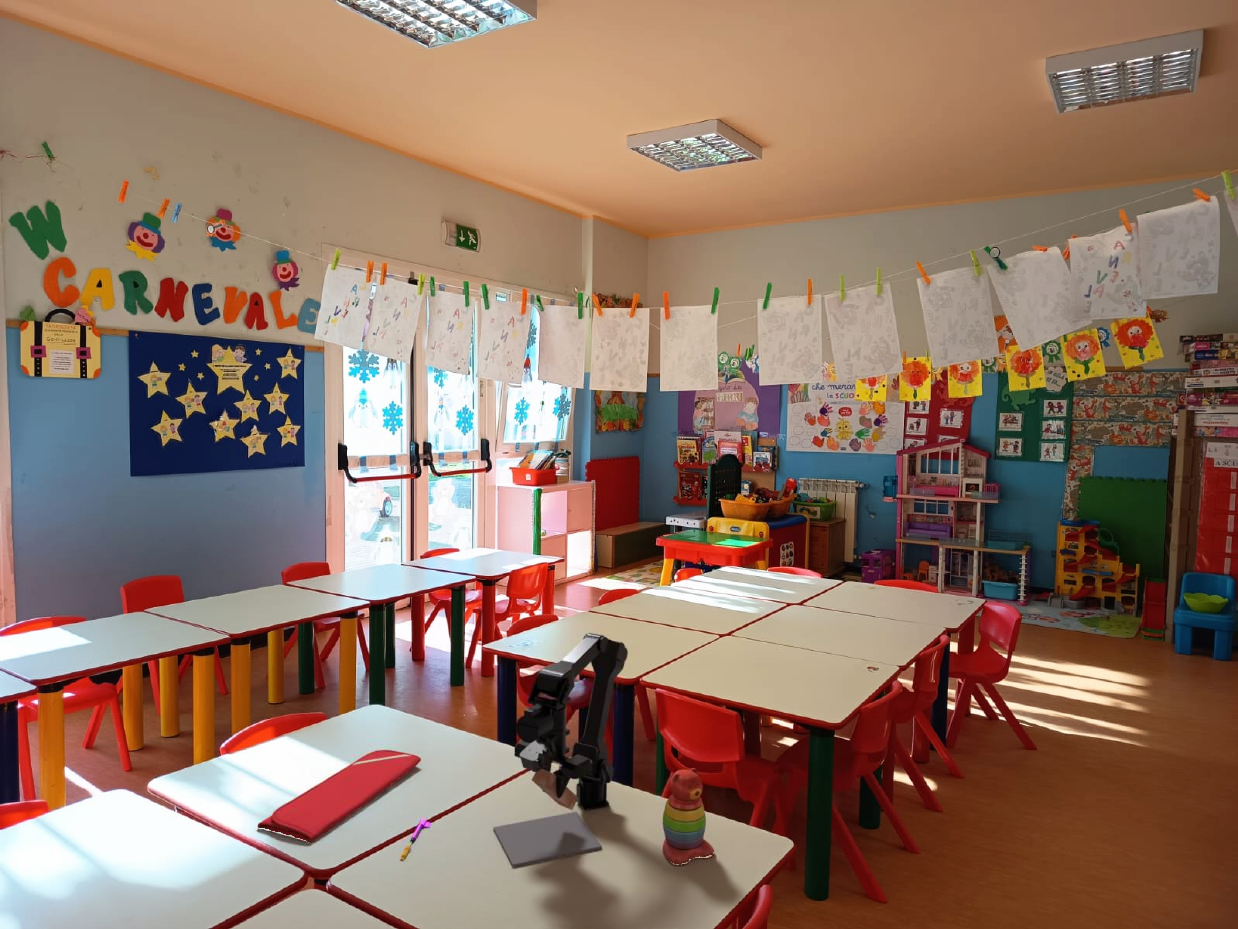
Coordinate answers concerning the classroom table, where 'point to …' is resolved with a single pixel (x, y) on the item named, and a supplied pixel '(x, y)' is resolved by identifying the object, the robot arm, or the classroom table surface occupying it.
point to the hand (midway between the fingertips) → (552, 794)
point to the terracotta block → (554, 789)
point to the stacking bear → (685, 819)
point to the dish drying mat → (340, 795)
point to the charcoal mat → (546, 839)
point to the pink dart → (415, 836)
